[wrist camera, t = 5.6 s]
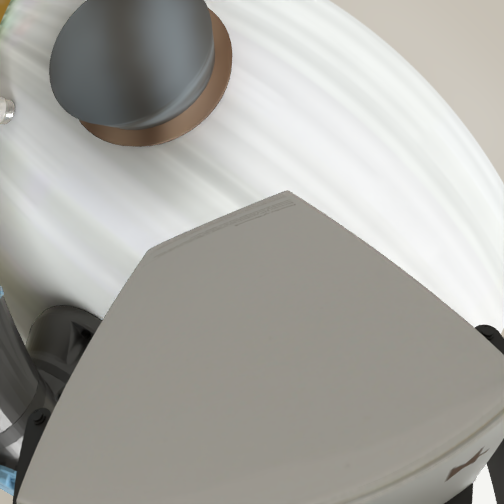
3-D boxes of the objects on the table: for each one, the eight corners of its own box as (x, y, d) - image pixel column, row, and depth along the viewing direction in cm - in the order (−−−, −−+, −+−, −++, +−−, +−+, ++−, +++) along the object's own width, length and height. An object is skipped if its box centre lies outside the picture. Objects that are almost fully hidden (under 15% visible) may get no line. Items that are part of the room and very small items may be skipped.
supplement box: (142, 248, 16) (-6, 497, 2) (289, 186, 16) (556, 362, 2) (208, 363, 19) (211, 582, 5) (332, 317, 19) (447, 516, 5)
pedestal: (88, 165, 25) (45, 172, 17) (74, 33, 20) (38, 8, 12) (244, 126, 25) (251, 116, 18) (219, -10, 20) (218, -53, 13)
